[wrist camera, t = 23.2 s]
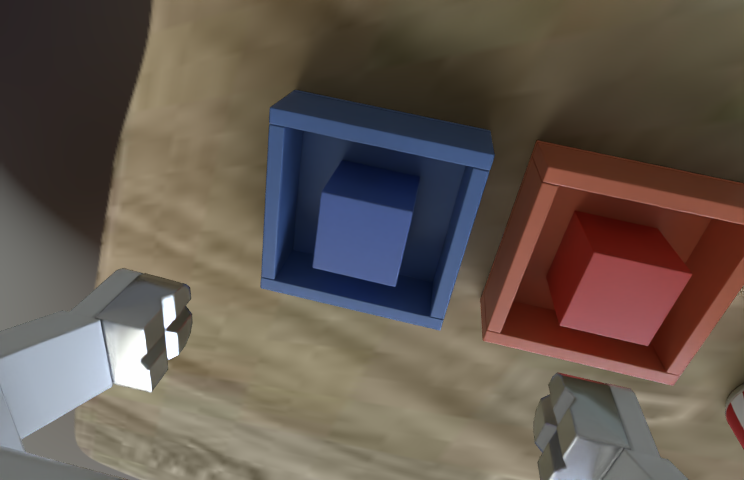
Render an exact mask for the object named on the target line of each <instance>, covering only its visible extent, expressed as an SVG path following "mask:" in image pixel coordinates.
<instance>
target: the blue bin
mask: <svg viewBox="0 0 744 480" xmlns="http://www.w3.org/2000/svg"><path fill="white" fill-rule="evenodd" d="M269 123H270V124H269V138H268V157H267V176H266V196H265V215H264V234H263V254H262V273H261V276H262V277H261V288H263V289H267V290H271V291H275V292H280V293H284V294H288V295H292V296H297V297H301V298H305V299H309V300H313V301H318V302H322V303H326V304H330V305H335V306H339V307H343V308H347V309H351V310H356V311H360V312H364V313H368V314H373V315H377V316H381V317H385V318H389V319H394V320H398V321H402V322H406V323H411V324H415V325H419V326H423V327H427V328H432V329H436V330H441V327H442V323H443V320H444V317H445V314H446V310H447V307H448V304H449V301H450V297H451V294H452V291H453V288H454V285H455V281H456V278H457V275H458V272H459V268H460V265H461V262H462V259H463V256H464V252H465V249H466V246H467V243H468V239H469V236H470V233H471V230H472V227H473V223H474V220H475V217H476V214H477V210H478V207H479V204H480V201H481V198H482V194H483V191H484V188H485V185H486V181H487V178H488V175H489V170H490V169H491V166H492V162H493V159H494V156H495V155H494V149H493V143H492V138H491V131H490V130H486V129H482V128H477V127H472V126H467V125H462V124H458V123H453V122H448V121H443V120H438V119H434V118H429V117H424V116H419V115H415V114H410V113H405V112H400V111H395V110H391V109H386V108H381V107H376V106H371V105H367V104H362V103H357V102H352V101H348V100H343V99H338V98H333V97H328V96H324V95H319V94H314V93H309V92H304V91H300V90H294V91H293V92H291V93H290V94H288V95H287V96H286V97H284V98H283V99H281V100H280V101H278V102H277V103H275V104H274V105H273V106H271V107H270V115H269ZM342 160H344V161H349V162H354V163H358V164H363V165H368V166H372V167H377V168H381V169H386V170H391V171H395V172H400V173H404V174H409V175H414V176H418V177H420V182H419V186H418V191H417V196H416V201H415V206H414V211H413V215H412V219H411V224H410V228H409V232H408V237H407V241H406V245H405V249H404V254H403V258H402V262H401V267H400V271H399V275H398V280H397V284H396V286H395V287H394V286H389V285H385V284H381V283H376V282H372V281H368V280H363V279H359V278H355V277H351V276H346V275H342V274H338V273H333V272H329V271H325V270H320V269H316V268H313V257H314V249H315V240H316V232H317V223H318V215H319V206H320V198H321V192H322V190H323V188H324V187H325V185H326V184H327V182H328V181H329V179H330V178H331V176H332V175H333V173H334V171H335V170H336V168H337V167H338V165H339V164H340V162H341V161H342Z"/></svg>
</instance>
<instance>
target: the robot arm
mask: <svg viewBox="0 0 744 480" xmlns="http://www.w3.org/2000/svg"><path fill="white" fill-rule="evenodd" d="M190 300H191V292H190V287H189V286H188V285H187V284H184V283H180V282H176V281H173V280H169V279H165V278H161V277H158V276H154V275H150V274H146V273H140V272H137V271H133V270H129V269H126V268H122V269H119V270H116V271H115V272H114V273H113V274H112V275H111V276H109V277H108V278H107V279H106V280H105V281H104V282H103V283H101V284H100V285H99V286H98V287H97V288H96V289H95V290H93V291H92V292H91V293H90V294H89V295H88V296H87V297H86V298H85V299H83V300H82V301H81V302H80V303H79V304H78V305H76V306H75V307H74V308H73V309H72V310H71V311H70V312H66V311H59V312H56V313H53V314H50V315H47V316H44V317H41V318H39V319H35V320H32V321H29V322H26V323H23V324H20V325H18V326H14V327H12V328H8V329H5V330H3V331H0V480H128V479H124V478H120V477H117V476H113V475H109V474H105V473H101V472H97V471H94V470H90V469H87V468H83V467H79V466H75V465H72V464H68V463H64V462H60V461H57V460H53V459H49V458H45V457H42V456H37V455H34V454H30V453H27V452H26V450H25V448H24V445H23V442H22V440H21V439H23V438H24V437H26V436H28V435H30V434H31V433H33V432H35V431H36V430H38V429H40V428H42V427H43V426H45V425H47V424H49V423H50V422H52V421H54V420H55V419H57V418H59V417H61V416H62V415H64V414H66V413H67V412H69V411H71V410H72V409H74V408H76V407H78V406H79V405H81V404H83V403H85V402H86V401H88V400H90V399H91V398H93V397H95V396H97V395H98V394H100V393H102V392H103V391H105V390H107V389H109V388H110V387H112V386H113V385H112V384H115V385H120V386H124V387H129V388H133V389H138V390H142V391H147V392H152V391H153V389H154V388H155V387H156V385H157V384H158V383H159V381H160V380H161V379H162V377H163V376H164V374H165V373H166V372H167V370H168V361H167V360H168V359H171V358H173V357H175V356H177V355H179V354H180V352H181V351H182V350H183V348H184V347H185V345H186V343H187V341H188V338H189V336H190V333H191V328H192V313H191V312H190V311H189V309H188V308H187V307H186V305H187V303H188V302H189V301H190ZM548 385H549V391H550V395H547V396H545V397H543V398H541V400H540V402H539V404H538V406H537V408H536V412H535V417H534V422H533V433H534V441H535V444H536V445H537V446H538V448H539V449H540V450H541V451H542V455H541V456H540V458H539V460H538V469H539V475H540V480H688V479H687V478H686V477H685V476H684V475H683V474H682V473H681V472H680V471H679V470H678V469H677V468H676V467H675V466H674V465H673V464H672V463H671V462H670V461H669V460H668V459H664V458H661V457H660V455H659V452H658V450H657V447H656V445H655V442H654V440H653V437H652V435H651V432H650V430H649V427H648V425H647V422H646V420H645V417H644V415H643V412H642V410H641V407H640V405H639V402H638V400H637V397H636V395H635V393H634V392H633V391H632V390H631V389H630V388H625V387H621V386H616V385H612V384H607V383H605V384H604V383H601V382H597V381H593V380H588V379H584V378H580V377H575V376H571V375H567V374H562V373H558V372H557V373H556V374H555V375H554V376H553V377H552V379H551V381H550V382H549V384H548Z"/></svg>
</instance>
